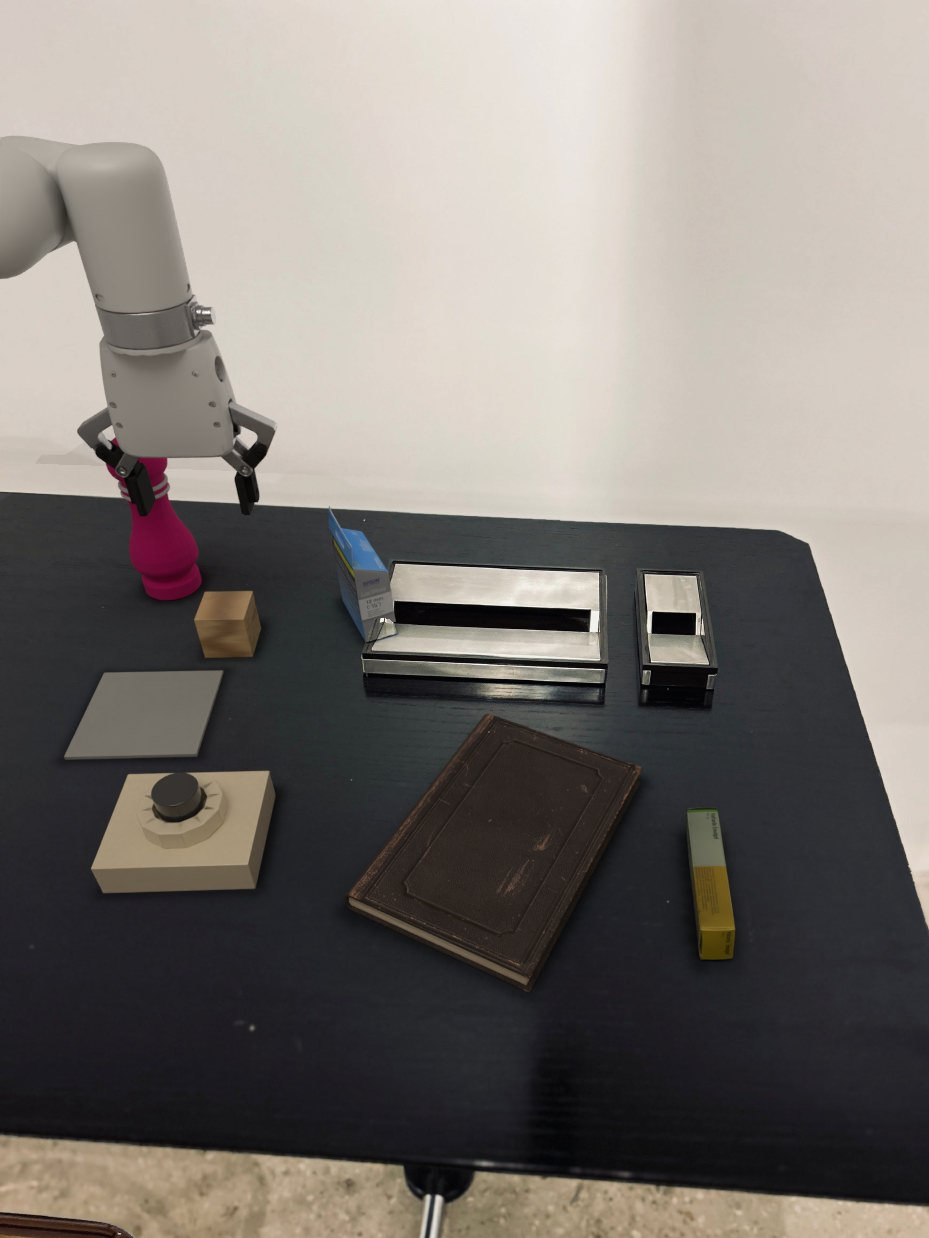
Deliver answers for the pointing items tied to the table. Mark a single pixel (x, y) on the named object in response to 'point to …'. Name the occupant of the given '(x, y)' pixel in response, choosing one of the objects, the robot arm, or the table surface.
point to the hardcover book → (498, 849)
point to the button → (177, 797)
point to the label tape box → (361, 577)
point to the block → (228, 624)
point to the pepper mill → (161, 540)
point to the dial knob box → (187, 837)
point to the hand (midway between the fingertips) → (198, 508)
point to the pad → (146, 715)
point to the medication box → (709, 884)
